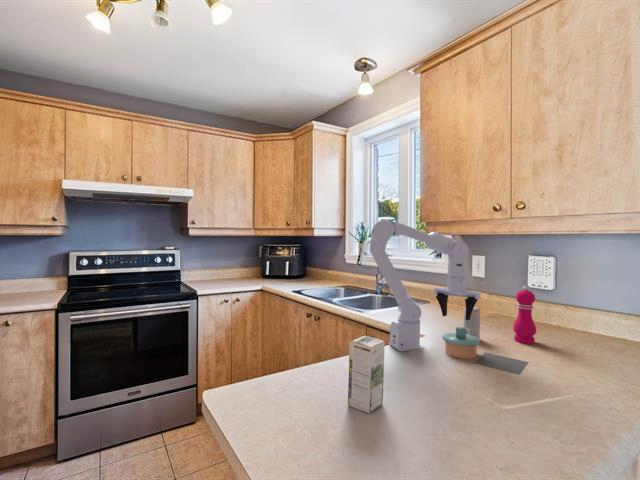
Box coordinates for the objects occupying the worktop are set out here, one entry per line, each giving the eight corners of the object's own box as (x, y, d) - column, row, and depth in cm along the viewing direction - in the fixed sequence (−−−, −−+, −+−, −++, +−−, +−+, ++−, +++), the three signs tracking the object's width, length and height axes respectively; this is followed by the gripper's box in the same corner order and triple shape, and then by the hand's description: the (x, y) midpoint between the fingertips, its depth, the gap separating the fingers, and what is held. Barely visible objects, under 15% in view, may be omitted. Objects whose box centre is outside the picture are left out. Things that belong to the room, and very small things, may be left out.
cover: (458, 347, 101) (458, 334, 101) (435, 336, 112) (435, 325, 112) (488, 344, 105) (488, 331, 105) (462, 334, 115) (463, 322, 115)
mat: (473, 364, 100) (473, 362, 100) (485, 353, 109) (485, 352, 109) (519, 376, 92) (519, 374, 92) (528, 363, 101) (528, 362, 101)
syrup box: (361, 396, 79) (362, 334, 79) (383, 404, 76) (385, 340, 75) (347, 405, 75) (348, 340, 75) (370, 415, 71) (371, 346, 71)
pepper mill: (539, 345, 119) (541, 288, 118) (516, 343, 120) (518, 287, 120) (531, 339, 126) (532, 285, 125) (509, 337, 127) (511, 284, 127)
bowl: (458, 360, 103) (458, 346, 103) (439, 350, 111) (439, 337, 111) (482, 358, 105) (483, 343, 105) (462, 348, 114) (462, 335, 114)
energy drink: (476, 338, 126) (477, 306, 125) (481, 343, 120) (482, 309, 120) (461, 337, 126) (462, 305, 126) (466, 342, 121) (466, 308, 120)
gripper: (483, 277, 112) (482, 319, 112) (440, 274, 121) (439, 312, 121) (476, 280, 106) (476, 323, 106) (431, 275, 116) (431, 315, 116)
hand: (456, 317), depth 114 cm, fingers open, 7 cm apart
